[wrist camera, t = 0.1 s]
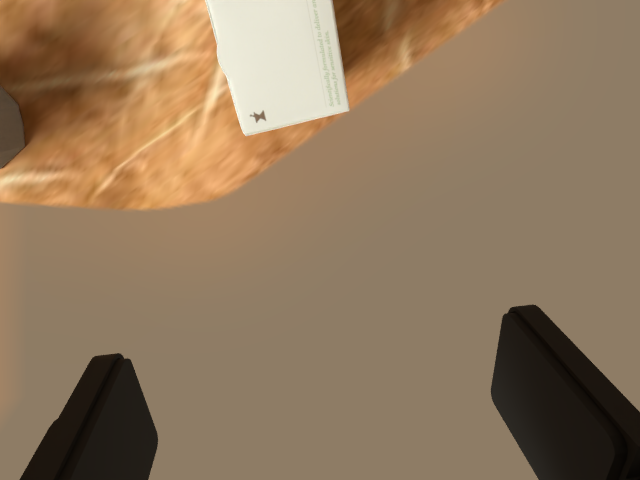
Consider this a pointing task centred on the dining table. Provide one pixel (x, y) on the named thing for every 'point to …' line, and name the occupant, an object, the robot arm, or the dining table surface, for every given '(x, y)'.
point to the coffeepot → (10, 128)
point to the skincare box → (279, 60)
